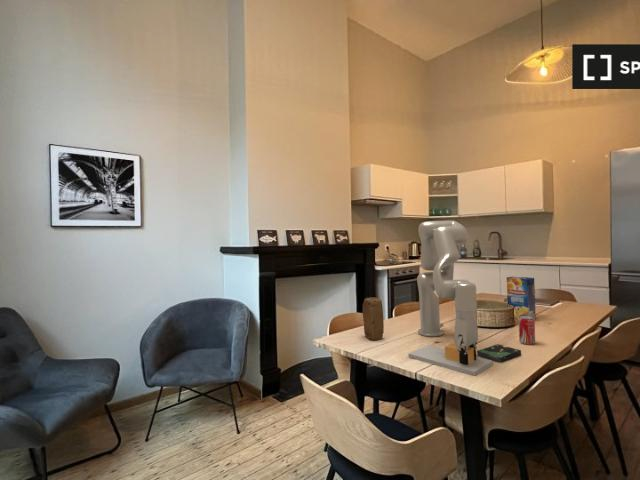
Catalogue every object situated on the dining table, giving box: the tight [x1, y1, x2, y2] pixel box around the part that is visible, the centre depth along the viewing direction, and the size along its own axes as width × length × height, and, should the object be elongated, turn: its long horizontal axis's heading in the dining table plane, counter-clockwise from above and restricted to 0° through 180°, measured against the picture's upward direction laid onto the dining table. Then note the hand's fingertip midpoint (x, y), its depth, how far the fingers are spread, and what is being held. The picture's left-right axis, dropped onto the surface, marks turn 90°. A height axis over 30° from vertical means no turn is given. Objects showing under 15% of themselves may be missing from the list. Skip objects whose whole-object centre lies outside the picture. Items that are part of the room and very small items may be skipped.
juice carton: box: [506, 275, 537, 321], centre depth 199 cm, size 12×8×24 cm, turn 30°
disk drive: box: [476, 343, 522, 364], centre depth 141 cm, size 10×3×15 cm
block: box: [362, 296, 385, 341], centre depth 172 cm, size 11×8×20 cm
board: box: [407, 344, 494, 377], centre depth 137 cm, size 15×28×2 cm, turn 41°
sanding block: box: [444, 342, 474, 364], centre depth 134 cm, size 6×9×5 cm, turn 42°
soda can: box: [518, 316, 536, 346], centre depth 155 cm, size 6×6×12 cm
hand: (468, 361), depth 131 cm, fingers open, 5 cm apart
